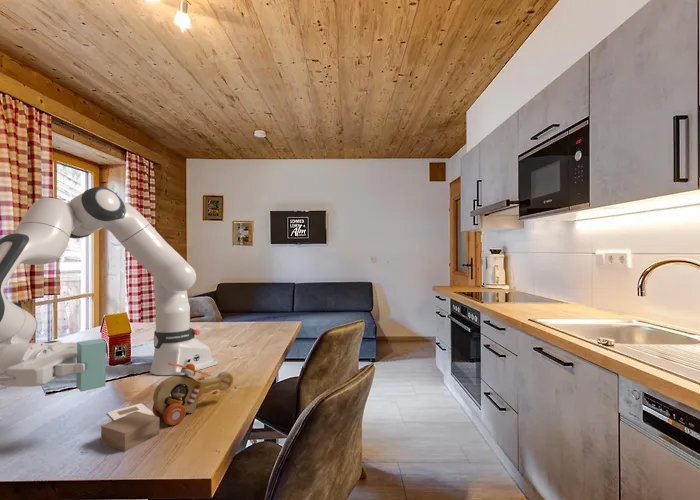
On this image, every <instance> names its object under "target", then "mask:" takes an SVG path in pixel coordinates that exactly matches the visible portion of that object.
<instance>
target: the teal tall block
mask: <svg viewBox="0 0 700 500" xmlns="http://www.w3.org/2000/svg"><path fill="white" fill-rule="evenodd" d="M76 343H77V363H78V362H86V363H87V370H85V371H83V372H79V373H76V378H75V380H76V381H75V382H76V387H75V388H77V389H78V390H79V391H80V392H81V393H83V392H87V391H91V390H96V389H100V388H104V387H106V385H107V384H106V382H107V381H106V379H107V377H106V374H107V373H106V372H107V367H106V366H107V359H106V353H107V341H105V340H104V339H102V338H96V339H95V338H94V339H90V340H81V341H77V342H76Z"/></svg>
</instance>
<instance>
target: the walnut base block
mask: <svg viewBox="0 0 700 500" xmlns="http://www.w3.org/2000/svg"><path fill="white" fill-rule="evenodd" d="M160 422H161V420H160V417H157V416H152V415H148V414H145V413H141V412H137V411H136V412H133V413H131V414H129V415H126V416H124V417H122V418H119V419H117V420H112V421H110V422H107V423H105V424H103V425H101V427H100V428H101V429H100V430H101V431H100V444H103V445H105V446H109V447H111V448H114V449H116V450H120V451H123V452H127V451H129V450H131V449H133V448H135V447H137V446H139V445H141V444H143V443H145V442H147V441H149V440H151V439H153V438H155V437H156V436H159V435H160V427H161V425H160V424H161V423H160Z"/></svg>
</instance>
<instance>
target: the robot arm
mask: <svg viewBox="0 0 700 500" xmlns="http://www.w3.org/2000/svg"><path fill="white" fill-rule="evenodd" d="M102 229H105V230H107V231H109V232H110V233H111V234H112V235H113V237H114V238H115V239H116V240H117V241H118V242H119V243H120V245H121V246H122V247H123V248H125V250H126V251H127V252H128V253H129V254H130V255H131V256H132V257H133V258H134V259H135V260H136V261H137V263H139V264H140V265H141V266H142V267H143V268H144V269H145V270H147V272H149V274H151V276H152V278H153V294H154V302H155V330H154V332H153V333H154V334H153V335H154V336H153V345H154V346H153V347H154V351H153V356H152V363H151V365H150V369H149V373H150V374H153V375H156V376H176V375H185V374H184V373H182V372H180V371H181V369H182V367H178V366H173V365H169V364H168V363H174V364H179V365H183V366H186V365H187V364H193V365H194V366H195V370H198V371H200V370H204V369H206V368H210V367H213V366H216V365H218V364H219V362H218V359H217V358H215V357H213V356H212V352H211V348H210V347H209V346H208V345H207V343H206V344H205V343H204V342H202V341H201V340H200V339H198V338H196V336H199V335H200V333H201V332H200V329H198V328H192V327H191V305H190V302H189V297H188V290H189V289H191V288H192V287H193V286H194V284H195V283H196V281H197V274H196V270H195V268H193V266H192V265H190V263H188V262H187V260H186V259H184V257H183V256H181V254H180V253H179V252H177V251H176V250H175V249H174V248H173V246H171V245H170V244H169V243H168V242H167V241H166V240H165V239H164V238H163V237H162V236H161V234H160V233H159V232H158V231H157V229H155V228H154V226H153V225H152V224H151V223H150V222H149V221H148V219H146V217H144V215H143V214H141V212H139V211H138V210H137V209H136V208H135V207H134V206H132V205H131V204H129V203H127V202H124V201H123V199H122V198H121V197H120V196H119V195H118V194H117V193H116V192H115V191H114V190H111V188H108V187H104V186H94V187H92V188H88V189H86V190H84V191H83V192H82V193H80V194H78V195H77V196H75V197H73V198H72V199H70V201H69V202H66V201H63V200H62V199H59V198H53V197H45V198H39V199H38V200H35V202H33V204H32V205H31V206H29V208H28V210H27V211H26V212H25V213H24V215H23V216H22V218H21V220H20V221H19V223H18V225H17V227H16V229H15V230H14V232H13V233H10V234H6V235H4V236H2V237H1V238H0V386H3V387H5V386H8V387H19V388H21V387H26V388H27V387H28V388H29V387H30V388H31V387H39V386H42V385H46V384H48V383H49V382H51V381H53V380H56V379H58V378H59V377H61V376H65V375H71V374H75V373H76V374H77V373H79V372H83V371H85V370H87V363H86V362H78V363H77V342H62V340H50V341H48V340H47V341H44V342H43V341H42V342H31V341H32V339H33V337H34V335H35V333H36V331H37V328H38V323H37V319H36V317H35V316H34V315H33V314H32V313H30V312H28V311H27V310H25V309H24V308H22V307H20V306H19V305H17V304H15V303H14V302H12V301H10V300H9V299H7V297H6V294H5V293H4V289H5V287H6V284H7V283H8V282H9V280H10V278H11V277H12V275H13V274H14V273H15V271H16V269H17V268H18V266H19V265H20V264H22V265H23V264H24V265H32V266H34V265H35V266H36V265H37V266H38V265H39V266H40V265H42V266H43V265H46V264H47V265H48V264H50V263H53V262H55V261H57V260H59V259H60V258H61V257H62V256H63V254H64V253H65V252H66V249H67V247H68V243H69V241H70V239H74V240H75V239H77V240H78V239H83V238H87V237H89V236H90V235H92V234H94V233H96V232H98V231H100V230H102ZM107 359H108V354H107V352H106V360H107Z"/></svg>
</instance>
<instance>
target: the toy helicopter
mask: <svg viewBox="0 0 700 500" xmlns="http://www.w3.org/2000/svg"><path fill="white" fill-rule="evenodd" d="M168 364H169V365H173V366H178V367H182V369H181V371H180V372H182V373H184V375H171V376H170V377H167V378H165V379H163V380H162V381H161V382H160V383H159V384H158V385H157V386H156V387H155V390H154V392H153V402H152V403H153V405H152V408H151V409H152V410H151V411H152V412H153V413H154V415H156V417H159V418H162V419H163V421H164V423H165V424H167V425H168V426H176V425H179V424H180V423H181V422H182V421H183V420H184V418H185V417H186V414H187V413H188V414H190V413H191V414H193V413H195V411H196V409H197V403H198V401H199V400H200V397H201V396H202V395H204V394H207V393H210V392H213V391H216V390H221V391H227V390H228V389H229V388H231V386H232V384H233V383H234V376H233V374H231V373H230V372H228V371H221V372H220V373H218V374H217V376H214V377H211V378H206V379H201V380H196V379H195V378H194V377H195V374H196V373H198V374H201V375H205V376H209V377H210V376H211V374H210V373H207V372H203V371H200V370H195V366H194V365H193V364H187V365H186V366H183V365H179V364H174V363H168Z"/></svg>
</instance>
